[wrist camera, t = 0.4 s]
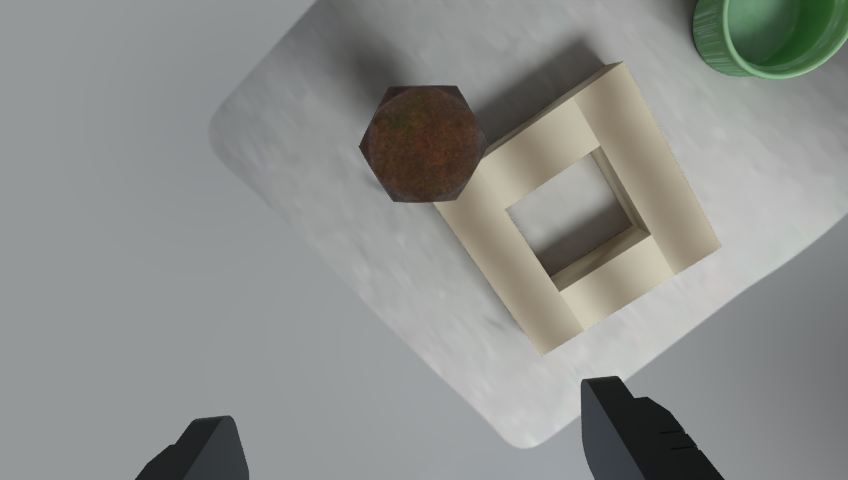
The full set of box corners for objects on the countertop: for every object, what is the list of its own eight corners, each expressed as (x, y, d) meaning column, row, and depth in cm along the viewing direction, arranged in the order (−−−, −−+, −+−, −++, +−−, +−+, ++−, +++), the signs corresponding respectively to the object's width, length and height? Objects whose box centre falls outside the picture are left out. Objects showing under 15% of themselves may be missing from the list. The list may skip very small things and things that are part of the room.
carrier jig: (605, 65, 33) (624, 60, 30) (697, 236, 37) (722, 246, 34) (427, 189, 35) (428, 196, 33) (531, 338, 39) (541, 356, 36)
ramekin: (833, -8, 32) (896, -26, 28) (750, 106, 34) (798, 105, 30) (738, -80, 31) (789, -110, 27) (658, 42, 33) (694, 33, 29)
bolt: (369, 114, 34) (339, 117, 19) (427, 78, 33) (440, 53, 19) (410, 181, 35) (409, 230, 21) (466, 147, 35) (505, 173, 20)
